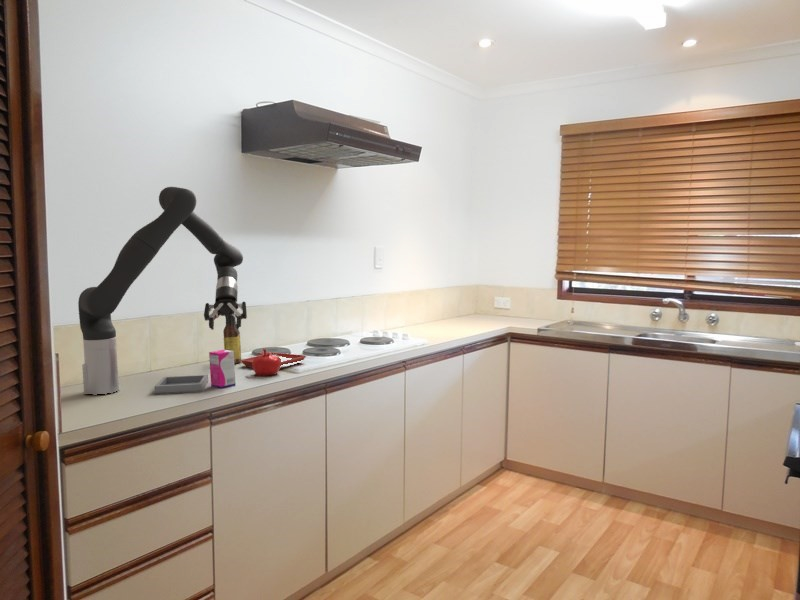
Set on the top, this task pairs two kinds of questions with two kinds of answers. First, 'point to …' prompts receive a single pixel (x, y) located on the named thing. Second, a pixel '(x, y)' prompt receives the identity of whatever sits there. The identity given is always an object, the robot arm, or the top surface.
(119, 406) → the top surface
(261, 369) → the pomegranate
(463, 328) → the top surface
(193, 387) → the tray
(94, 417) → the top surface
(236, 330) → the sauce bottle
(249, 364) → the red square tray
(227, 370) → the supplement box
